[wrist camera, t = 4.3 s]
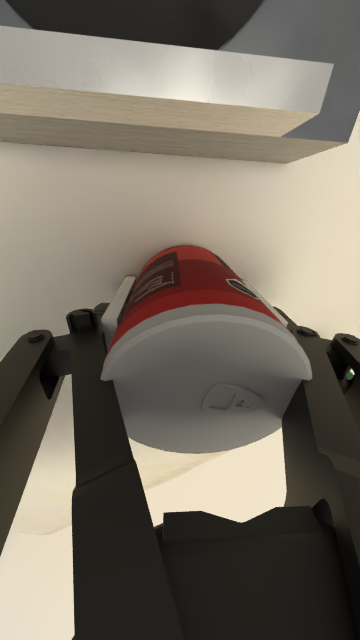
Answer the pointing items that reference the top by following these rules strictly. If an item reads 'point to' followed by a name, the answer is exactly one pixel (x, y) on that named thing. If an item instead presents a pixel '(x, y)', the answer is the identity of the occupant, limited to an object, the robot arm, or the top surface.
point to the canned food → (201, 358)
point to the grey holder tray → (181, 76)
